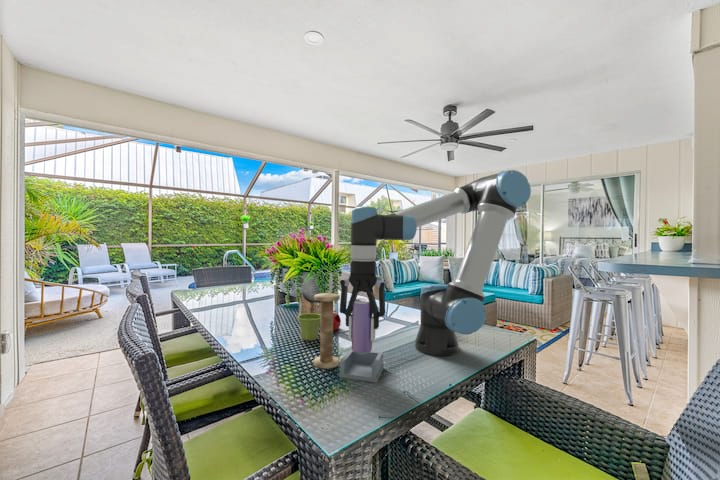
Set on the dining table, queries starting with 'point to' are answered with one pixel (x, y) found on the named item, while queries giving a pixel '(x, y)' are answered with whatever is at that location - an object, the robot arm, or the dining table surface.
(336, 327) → the pomegranate
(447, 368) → the dining table surface
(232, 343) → the dining table surface
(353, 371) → the gray open box
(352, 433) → the dining table surface
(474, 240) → the robot arm
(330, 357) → the spool
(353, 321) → the beverage can
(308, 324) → the plant pot
